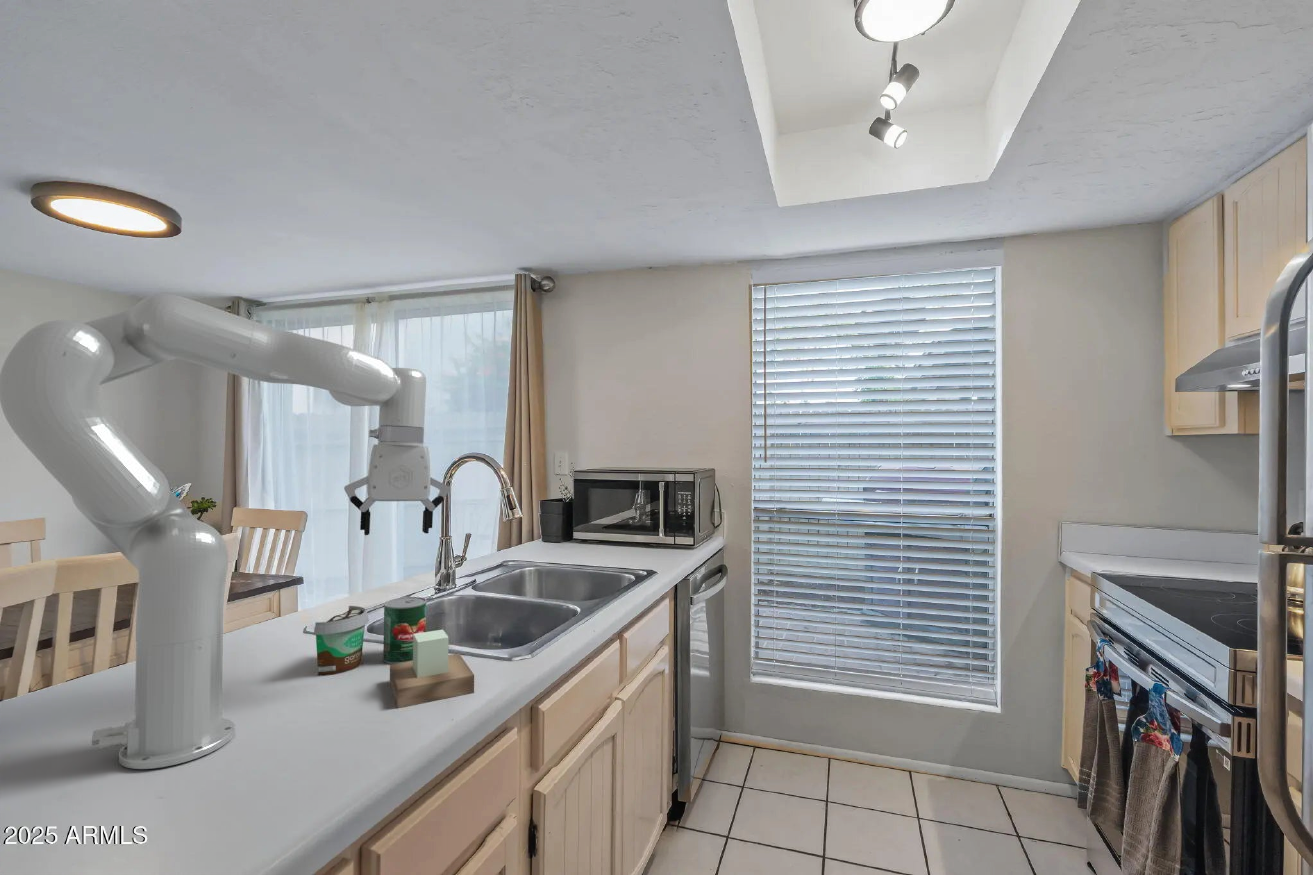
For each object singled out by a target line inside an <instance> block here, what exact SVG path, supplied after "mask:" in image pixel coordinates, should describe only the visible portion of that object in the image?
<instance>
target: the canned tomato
mask: <svg viewBox="0 0 1313 875" xmlns="http://www.w3.org/2000/svg"><path fill="white" fill-rule="evenodd" d="M423 632H427V599H426V598H425V597H422V596H421V597H419V596H404V597H397V598H393V599H390V600H386V601H385V602H384V603H383V650H382V651H383V652H382V653H383V657H382V660H383V662H384V663H386V664H389V665H393V664H399V663H405V662H411V661H413V634H416V633H423Z"/></svg>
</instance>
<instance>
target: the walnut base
mask: <svg viewBox="0 0 1313 875" xmlns="http://www.w3.org/2000/svg"><path fill="white" fill-rule="evenodd" d="M389 683H390V687H391V690H392V694H393V696H394V700H395V703H396V705H397V709H401V708H405V707H410V706H415V705H420V704H424V703H425V704H426V703H430V702H435V701H439V700H444V699H449V698H453V697H454V698H455V697H460V696H465V695H468V694H470V695H471V694H475V674H474V673H473V671H472V670H471V668H470V667H469V665H468V664H467V663H466V661H465V660H464V658H463V656H462V655H461V653H454V654H448V672H447V673H441V674H436V675H430V676H425V677H419V678H417V676H416V673H415V671H414V669H413V661H411V662H405V663H399V664H389Z"/></svg>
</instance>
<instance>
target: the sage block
mask: <svg viewBox="0 0 1313 875" xmlns="http://www.w3.org/2000/svg"><path fill="white" fill-rule="evenodd" d="M449 640H450V637H449V636H448V634H447V632H445V630H444V629H437V630H431V631H426V632H423V633H416V634H413V669H414V671H415V673H416V676H417V678H419V677H425V676H430V675H436V674H441V673H447V672H448V655H449V645H450V644H449Z"/></svg>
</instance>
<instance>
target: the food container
mask: <svg viewBox="0 0 1313 875" xmlns="http://www.w3.org/2000/svg"><path fill="white" fill-rule="evenodd" d="M369 620H370V619H369V616H368V612H367V610H366V608H365V607H363V606H358V605H348V610H347V611H345V612H343V613H341V614H337V615H334V616H332V617H330V619H328V620H327V621H323V622H319V621H317V622H315V626H314V629H313V630H314V631H313V635H315V643H316V662H317V663H316V664H317V666H316V667H317V677H321V676H324V677H325V676H333V675H337V674H338V675H339V674H344V673H347V672H350V671H353V670H354V669H356V668H359V666H361V664H362V658H363V648H364V646H363V645H364V637H365V626H366V625H367V624H368V623H369Z"/></svg>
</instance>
